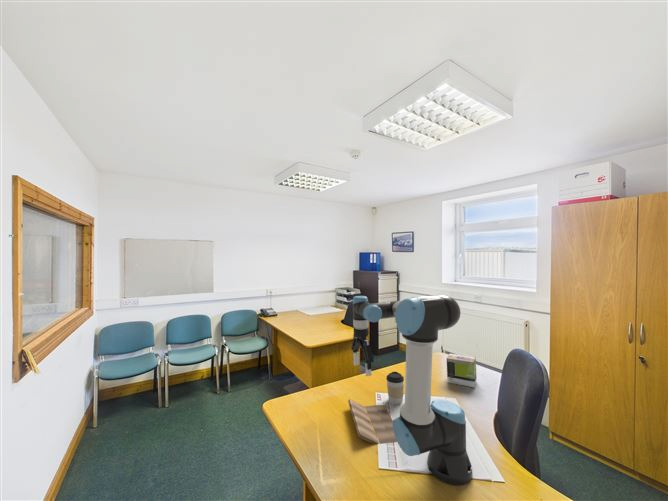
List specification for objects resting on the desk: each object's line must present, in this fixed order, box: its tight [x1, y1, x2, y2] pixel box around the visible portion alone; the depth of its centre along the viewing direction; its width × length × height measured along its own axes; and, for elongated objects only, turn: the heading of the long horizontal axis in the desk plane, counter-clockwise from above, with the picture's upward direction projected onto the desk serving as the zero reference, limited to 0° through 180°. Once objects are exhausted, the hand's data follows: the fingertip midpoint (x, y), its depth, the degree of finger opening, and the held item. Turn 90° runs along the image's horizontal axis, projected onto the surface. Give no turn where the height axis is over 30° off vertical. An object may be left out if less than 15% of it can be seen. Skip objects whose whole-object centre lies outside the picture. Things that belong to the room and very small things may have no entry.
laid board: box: [364, 404, 398, 445], centre depth 131 cm, size 28×10×1 cm, turn 6°
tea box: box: [446, 353, 478, 389], centre depth 170 cm, size 15×10×15 cm, turn 58°
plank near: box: [352, 415, 380, 445], centre depth 123 cm, size 14×9×1 cm, turn 6°
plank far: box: [347, 398, 372, 424], centre depth 137 cm, size 14×9×1 cm, turn 6°
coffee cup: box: [386, 371, 405, 405], centre depth 149 cm, size 9×9×15 cm
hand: (362, 370), depth 141 cm, fingers open, 13 cm apart
